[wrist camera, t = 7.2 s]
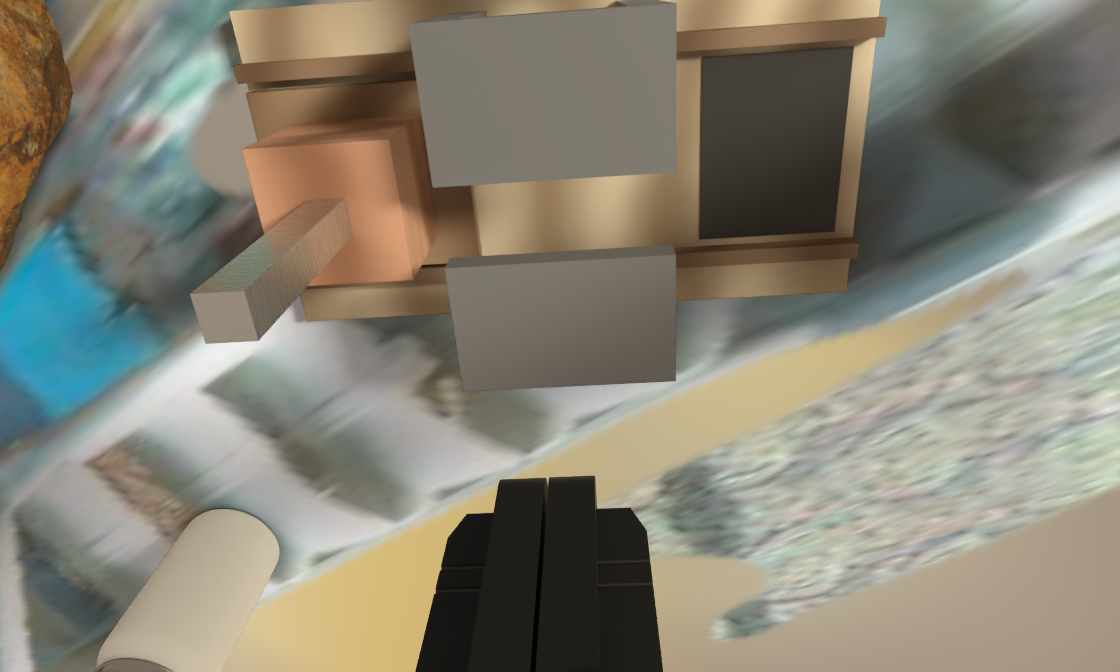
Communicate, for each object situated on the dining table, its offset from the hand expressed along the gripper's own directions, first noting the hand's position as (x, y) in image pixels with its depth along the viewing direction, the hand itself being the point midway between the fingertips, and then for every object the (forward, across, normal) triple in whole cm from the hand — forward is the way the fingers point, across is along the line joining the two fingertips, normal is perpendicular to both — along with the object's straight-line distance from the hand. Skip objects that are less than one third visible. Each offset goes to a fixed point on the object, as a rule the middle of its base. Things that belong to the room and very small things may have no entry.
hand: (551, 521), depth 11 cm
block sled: (+27, +10, 0) cm, 29 cm away
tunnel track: (+29, +1, 0) cm, 29 cm away
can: (+29, +25, +26) cm, 46 cm away
